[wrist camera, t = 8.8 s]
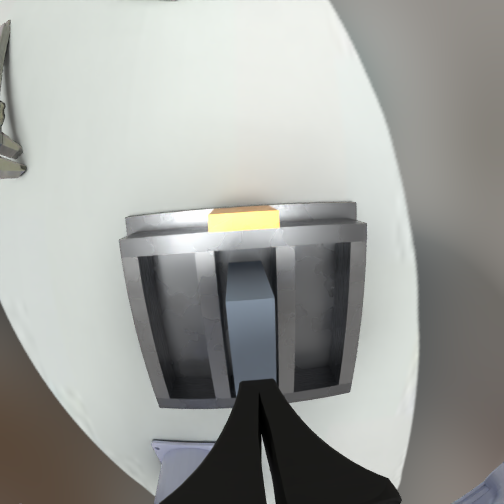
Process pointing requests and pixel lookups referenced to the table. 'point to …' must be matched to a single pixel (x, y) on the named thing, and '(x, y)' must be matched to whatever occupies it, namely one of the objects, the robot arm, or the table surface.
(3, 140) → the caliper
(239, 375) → the panel
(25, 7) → the table surface
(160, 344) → the panel rack
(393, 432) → the table surface
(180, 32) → the table surface
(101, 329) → the table surface
